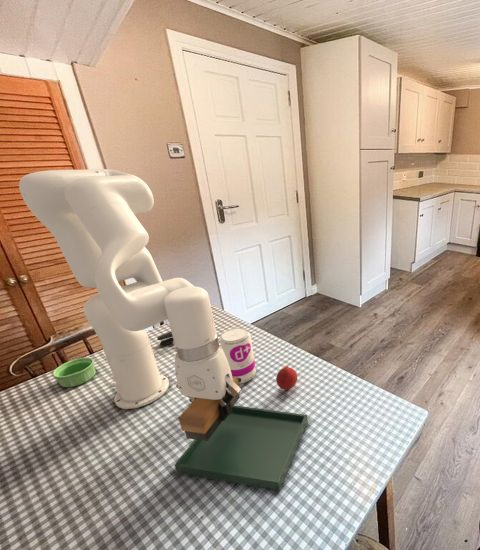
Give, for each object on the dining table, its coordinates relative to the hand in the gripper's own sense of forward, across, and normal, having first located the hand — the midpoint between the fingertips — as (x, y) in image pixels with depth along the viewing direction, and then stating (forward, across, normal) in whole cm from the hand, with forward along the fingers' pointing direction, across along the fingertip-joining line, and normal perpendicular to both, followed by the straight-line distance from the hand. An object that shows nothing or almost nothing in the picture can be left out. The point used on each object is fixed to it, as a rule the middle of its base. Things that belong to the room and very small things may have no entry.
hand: (214, 413), depth 68 cm
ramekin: (+8, -55, +13) cm, 57 cm away
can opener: (+8, -37, +37) cm, 53 cm away
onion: (+9, +9, +19) cm, 23 cm away
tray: (+9, +7, 0) cm, 11 cm away
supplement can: (+9, -7, +22) cm, 25 cm away
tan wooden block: (+1, 0, 0) cm, 1 cm away
